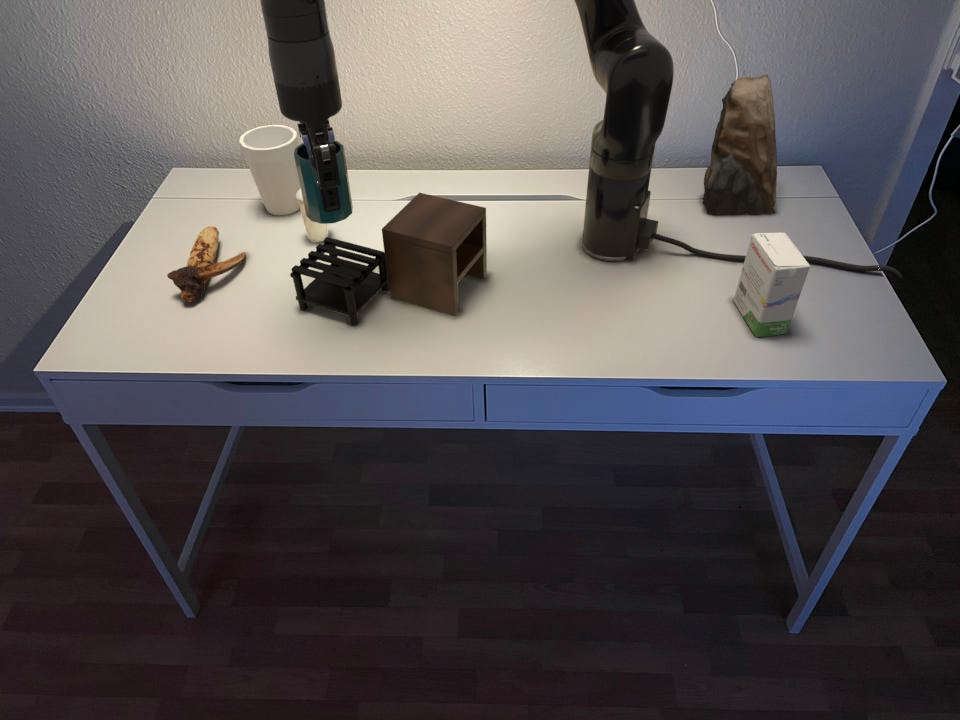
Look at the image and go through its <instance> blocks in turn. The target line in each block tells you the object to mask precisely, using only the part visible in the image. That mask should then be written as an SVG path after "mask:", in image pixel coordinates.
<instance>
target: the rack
mask: <svg viewBox="0 0 960 720" xmlns="http://www.w3.org/2000/svg"><path fill="white" fill-rule="evenodd" d="M315 249H316V250H315V251H314V250H311V251H309V252H308V253H307V256H308V257H307V258H306V257H303V258H301V260H300V261H299V265H297V264H296V265H294V266H293V267H292V268H291V272H290V274H289V275H290V278H292V281H293V286H294V289H295V294H296V296H295V300H296V301H297V302H298V306H299V310H300V311H307V310H308V309H309V305H311V306H315V307H317V308H322V309H325V310H328V311H332V312H335V313H338V314H340V315H344V316H347V317H348V318H349V324H350V326H352V327H356V326H358V325H359V317H358V314H359V313H360V312H361V310H363V309H364V308H365V307H366V305H368V303H370V301H371V300H373V298H374V297H375V296H376V295H377V294H378V293H379V292H380V290H381V291H382V292H383V293H387V292H389V284H388V276H387V268H386V260H385V252H384V250H383V251H382V250H378V249H375V248H371V247H368V246H363V245H360V244H356V243H352V242H348V241H344V240H341V239H336V238H333V237H329V236H328V237H326V238H325V239H324V241H323V243H318V244H317V245H316V246H315ZM355 252H356V253H355ZM366 264H367V265H366ZM311 268H312V269H311ZM377 268H378V272H376V271H375V270H376V269H377ZM318 270H319V271H318ZM302 276H304V277H309V278H312V279H313V280H312V281H310V283H308V285H306V287H305V286H304V283H303V279H302V278H303V277H302Z"/></svg>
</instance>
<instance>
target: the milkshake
mask: <svg viewBox="0 0 960 720" xmlns="http://www.w3.org/2000/svg"><path fill="white" fill-rule="evenodd" d="M296 199H297V202H298V205H299V208H300V209H299V211H300V214H301V218H302V221H303V225H304V229H305V231H306V235H307V238H308V240H309V241H310V242H311V243H317V244H319V243H322V242H324V239H325V238H326V237H329V231H328V224H321V223H317V222H313V221H311V220H310V219H309V218H308V217H307V216H306V212H305V207H304V202H303V197H302V192H301V188H300V189H299V190H298V192H297V193H296Z"/></svg>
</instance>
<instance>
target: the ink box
mask: <svg viewBox="0 0 960 720" xmlns="http://www.w3.org/2000/svg"><path fill="white" fill-rule="evenodd" d="M745 256H746V257H745V261H743V264H742V268H741V272H740V276H739V279H738V283H737V285H736V288H735V293H734V296H733V299H732V300H733V303H734V305H735V306H736V308H737V310H738V312H739V313H740V314H741V316H742V318H743V319H744V321H745V323H746V324H747V326H748V328H749V329H750V331H751V332H752V334H753V336H755V337H756V338H759V337H771V336H780V335H786V334H788V331H789V329H790V325H791V323H792V320H793V317H794V314H795V311H796V308H797V305H798V302H799V299H800V296H801V293H802V290H803V288H804V285H805V283H806V280H807V277H808V274H809V271H810V268H811V265H810V262H807V261H806V260H805V258H804V257H803V256H804V255H803V254H802V253H801V252H800V250H799V249H798V247H797V246H796V245H795V243H794V242H793V241H792V240H791V239H790V237H789V236H788V234H787V233H786V232H785V231H782V232H781V231H780V232H758V233H752V234H751V235H750V240H749V243H748V247H747V250H746V254H745Z"/></svg>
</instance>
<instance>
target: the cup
mask: <svg viewBox="0 0 960 720" xmlns="http://www.w3.org/2000/svg"><path fill="white" fill-rule="evenodd" d="M334 145H335V146H336V149H335V150H336V155H337V160H338V163H337V164H338V171H339V178H340V180H341V183H340V185H341V186H338V193H339V199H340V205H341V208H340V209H339V210H337V211H332V212H325V211H324V208H323V204H322V199H321V193H320V188H319V185H317V176H316V171H315V169H313V168H311V166H310V162H309V159H308V155H307V151H306V149H305V148H304V147H303V144H302V143H299V146H298V147H296V148H295V151H294V158H295V163H296V168H297V173H298V177H299V182H300V187H301V192H302V197H303V202H304V207H305V212H306V216H307V217H308V218H309V219H310V220H311V221H313V222H317V223H321V224H327V225H328V224H336V223H338V222H342V221H344V220H347V218H349V217H350V216H351V215H352V214H353V211H354V210H353V208H354V206H353V200H352V191H351V186H350V185H351V184H350V179H349V173H348V166H347V160H346V152H345V147H344V145H343V144H342V143H341V142H339V141H338V140H336V139H335V140H334ZM313 159H314V160H315V158H313ZM315 161H316V160H315ZM331 175H332V172H327V173H324V174H323V177H325V176H331Z"/></svg>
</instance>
